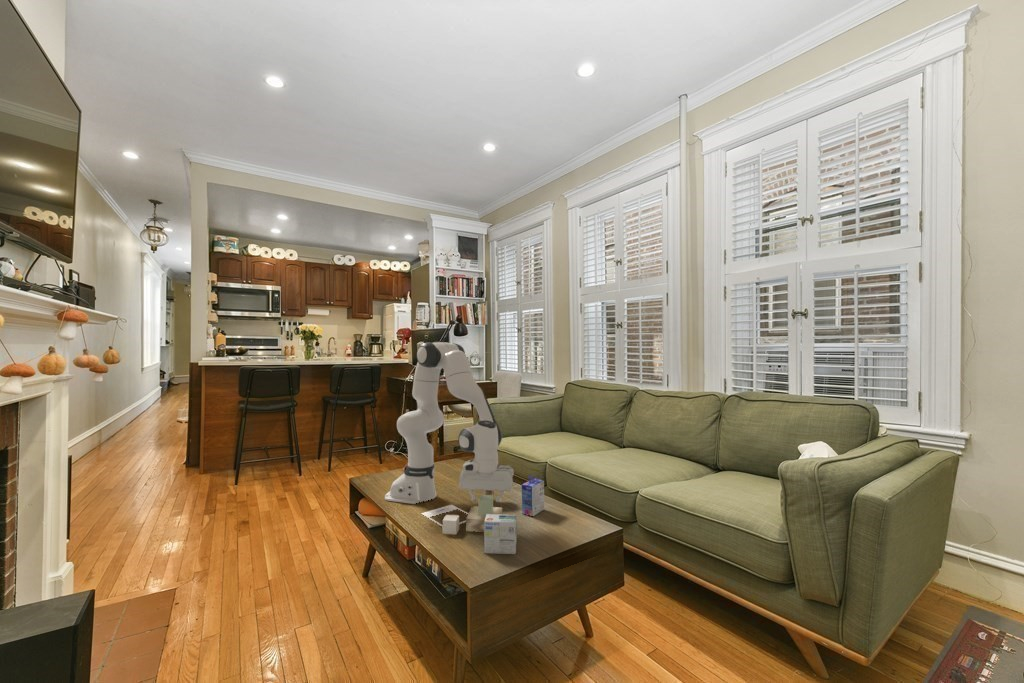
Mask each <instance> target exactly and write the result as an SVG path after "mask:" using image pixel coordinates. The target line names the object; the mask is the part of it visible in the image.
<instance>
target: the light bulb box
mask: <svg viewBox="0 0 1024 683" xmlns="http://www.w3.org/2000/svg"><path fill="white" fill-rule="evenodd" d="M517 530H518V529H517V514H516V513H515V514H511V513H510V514H507V513H506V514H504V513H502V514H486V517H485V521H484V532H483V533H484V534H483V541H484V543H483V549H484V550H483V553H484V554H498V555H499V554H501V555H502V554H503V555H505V554H506V555H516V553H517Z"/></svg>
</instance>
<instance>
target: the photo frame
mask: <svg viewBox="0 0 1024 683" xmlns="http://www.w3.org/2000/svg"><path fill="white" fill-rule="evenodd" d="M457 509H458V510H457ZM453 510H455V511H459V510H460V511H459V512H461V511H462V512H461V513H463V512H464V513H463V514H465V513H466V514H465V515H467V514H469V512H467V511H465V510H463V509H461V508H459V507H457V506H455V505H454V504H448V505H445V506H442V507H438V508H434V509H431V510H428V511H425V512H421V513H420V515H421V514H422V516H423V515H424V516H423V517H425V516H426V517H427V518H426V517H425V518H426V519H428V518H429V519H428V520H430V521H431V520H432V522H433V521H434V522H433V523H435V524H436V523H437V524H436V525H438V526H439V527H441V526H442V527H441V528H443V523H442V524H441V523H440V522H438V521H436V520H435V519H434V518H433V517H432V516H434V517H437V516H436V515H438V516H440V515H439V514H441V515H443V514H442V513H445V514H447V513H446V512H448V513H451V512H454V511H453ZM450 511H451V512H450ZM430 517H431V518H430ZM465 522H466V520H463V521H459V525H462V523H463V524H466V523H465Z"/></svg>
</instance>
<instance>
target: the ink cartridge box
mask: <svg viewBox="0 0 1024 683" xmlns="http://www.w3.org/2000/svg"><path fill="white" fill-rule="evenodd" d="M527 479H528V481H526V482H524V483H523V484H521V509H522V512H521V513H522V515H524V514H526V515H525V516H528V515H530V516H529V517H531V516H533V517H534V516H536V515H537V514H539V513H540V512H541V513H542V511H544V510H545V480H543V479H539V478H535V477H534V475H533V474H531V475H529V476H527Z"/></svg>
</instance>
